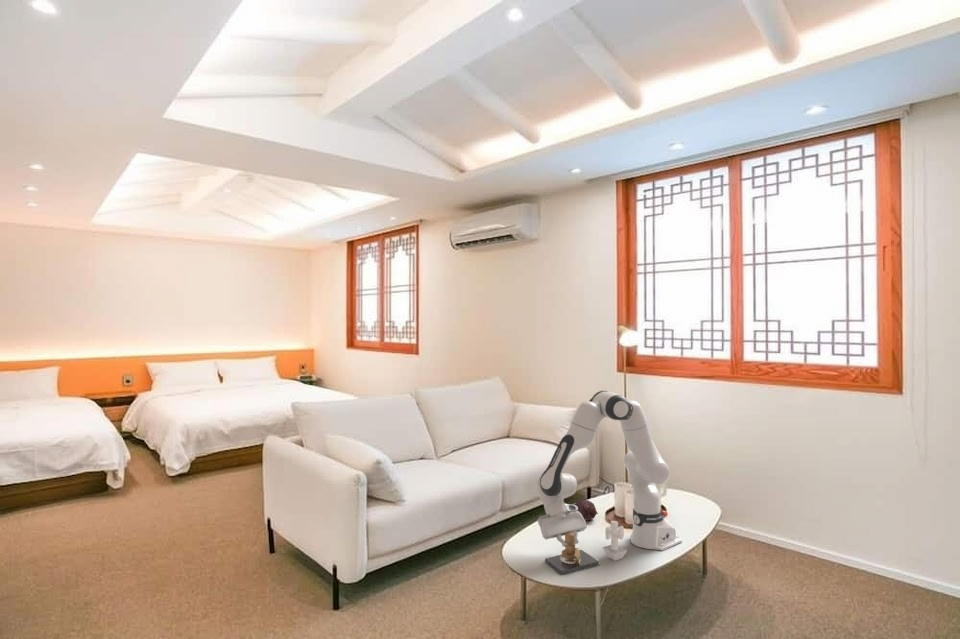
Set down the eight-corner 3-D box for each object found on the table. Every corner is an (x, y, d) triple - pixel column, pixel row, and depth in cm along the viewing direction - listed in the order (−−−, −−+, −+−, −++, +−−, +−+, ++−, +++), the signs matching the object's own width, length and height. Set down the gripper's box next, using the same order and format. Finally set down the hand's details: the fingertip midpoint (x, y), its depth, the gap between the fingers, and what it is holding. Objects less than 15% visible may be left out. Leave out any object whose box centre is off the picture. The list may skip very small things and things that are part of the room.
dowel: (578, 562, 213) (577, 547, 213) (581, 564, 211) (580, 549, 211) (573, 563, 212) (573, 548, 212) (576, 565, 210) (576, 550, 210)
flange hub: (572, 549, 221) (572, 529, 221) (582, 556, 214) (582, 535, 214) (558, 553, 218) (557, 532, 218) (568, 560, 211) (567, 539, 211)
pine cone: (563, 516, 265) (566, 496, 270) (577, 522, 269) (580, 503, 274) (588, 517, 252) (591, 496, 256) (603, 523, 256) (606, 503, 260)
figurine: (613, 551, 226) (612, 516, 226) (629, 559, 218) (629, 523, 217) (600, 555, 222) (599, 519, 222) (616, 564, 214) (615, 527, 214)
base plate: (581, 553, 224) (581, 549, 224) (599, 565, 214) (598, 561, 213) (545, 562, 217) (544, 558, 217) (561, 574, 206) (561, 570, 206)
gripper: (538, 513, 218) (552, 546, 209) (580, 505, 226) (594, 536, 218) (533, 520, 222) (546, 553, 213) (574, 512, 231) (588, 543, 222)
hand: (571, 544), depth 215 cm, fingers closed on flange hub, 4 cm apart
